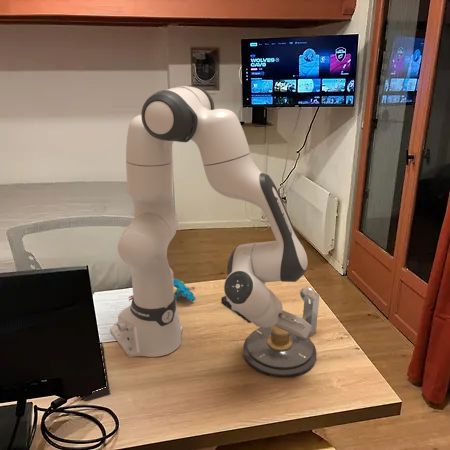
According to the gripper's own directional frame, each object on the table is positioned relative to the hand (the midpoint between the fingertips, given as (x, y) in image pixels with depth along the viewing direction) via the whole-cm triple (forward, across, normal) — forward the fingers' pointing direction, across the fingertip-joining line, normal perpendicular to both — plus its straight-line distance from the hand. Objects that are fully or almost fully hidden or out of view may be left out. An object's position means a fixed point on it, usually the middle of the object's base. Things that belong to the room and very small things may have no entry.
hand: (282, 324), depth 122 cm
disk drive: (+16, +21, -2) cm, 26 cm away
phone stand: (-22, +29, +35) cm, 51 cm away
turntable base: (+6, 0, +7) cm, 9 cm away
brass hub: (+4, 0, +5) cm, 6 cm away
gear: (+10, +40, +3) cm, 42 cm away
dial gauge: (+15, -2, -2) cm, 15 cm away
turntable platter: (+5, 0, +5) cm, 7 cm away
